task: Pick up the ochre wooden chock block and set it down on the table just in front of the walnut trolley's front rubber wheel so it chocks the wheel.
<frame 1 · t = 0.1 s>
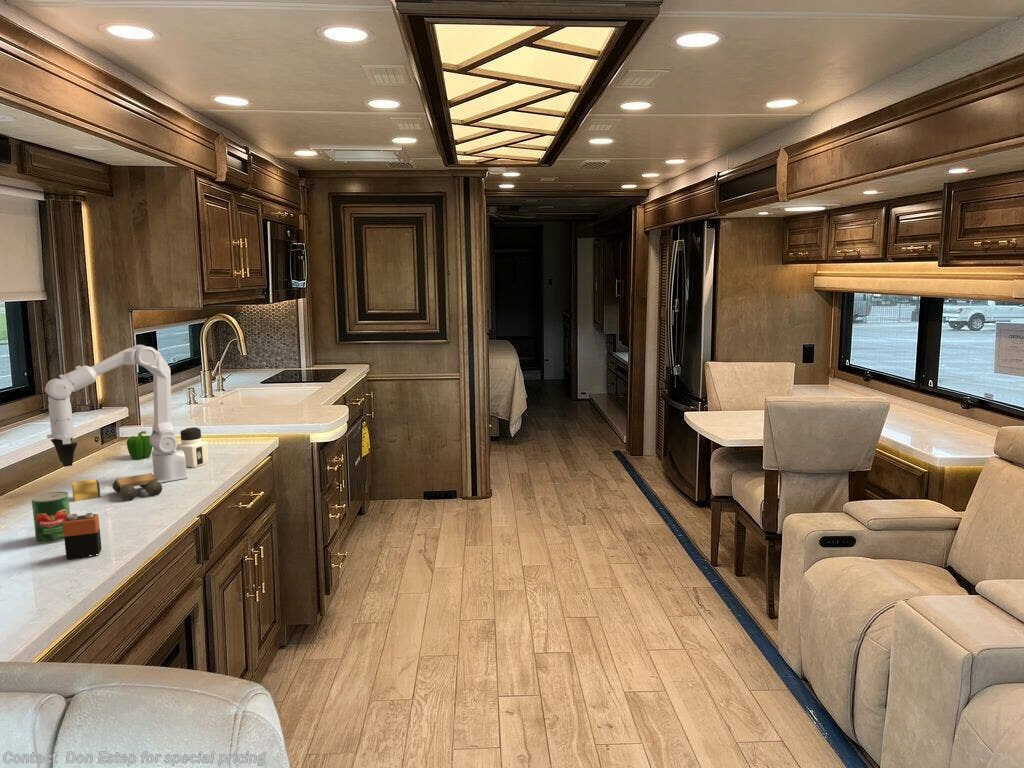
hand: (66, 463, 219), 10 cm above the counter, tool pointing down, fingers open, 7 cm apart
canned tomato: (54, 538, 185), on the counter
bell pepper: (140, 458, 267), on the counter
battery: (84, 555, 173), on the counter
container: (193, 465, 256), on the counter
trolley: (137, 493, 222), on the counter
chock: (85, 498, 219), on the counter
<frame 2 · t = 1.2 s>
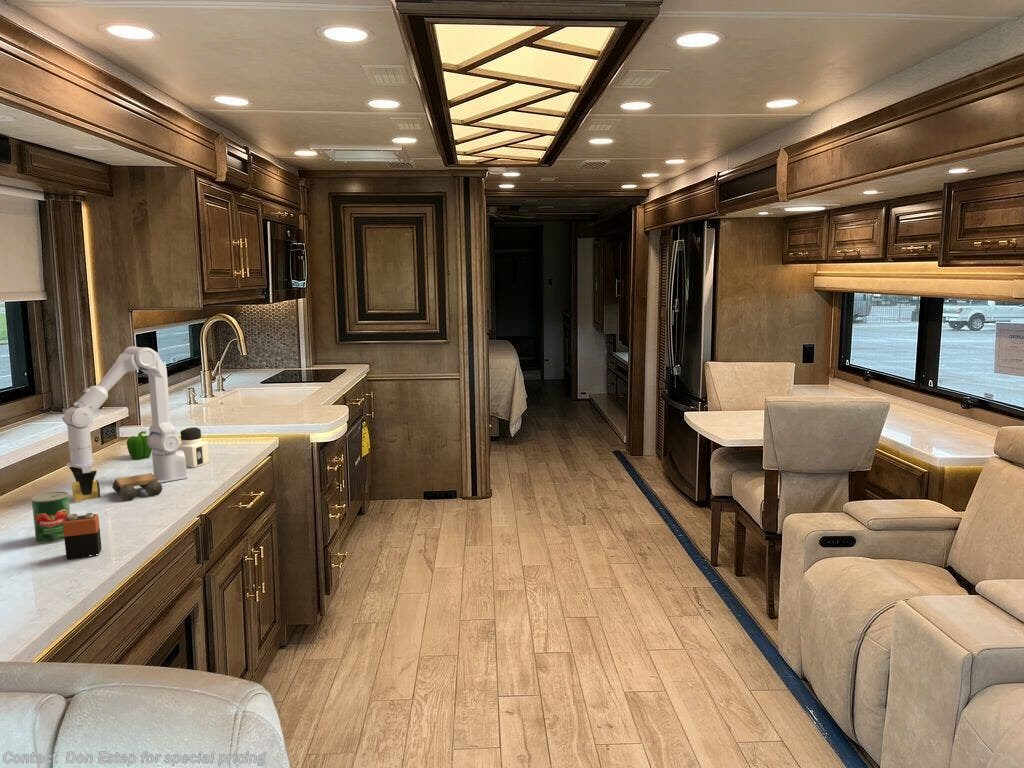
hand: (84, 491, 218), 2 cm above the counter, tool pointing down, fingers open, 7 cm apart
nothing on the counter moved.
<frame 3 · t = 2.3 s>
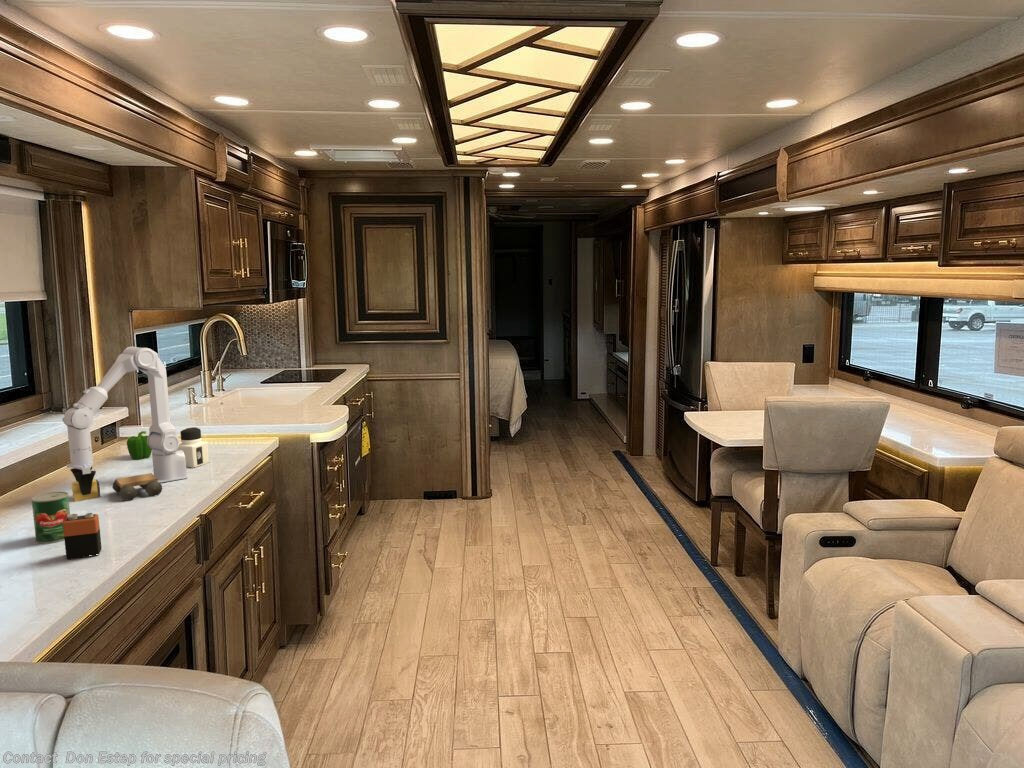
hand: (85, 492, 218), 2 cm above the counter, tool pointing down, fingers closed on chock, 4 cm apart
chock: (85, 497, 219), on the counter, touching gripper
everything else where it was.
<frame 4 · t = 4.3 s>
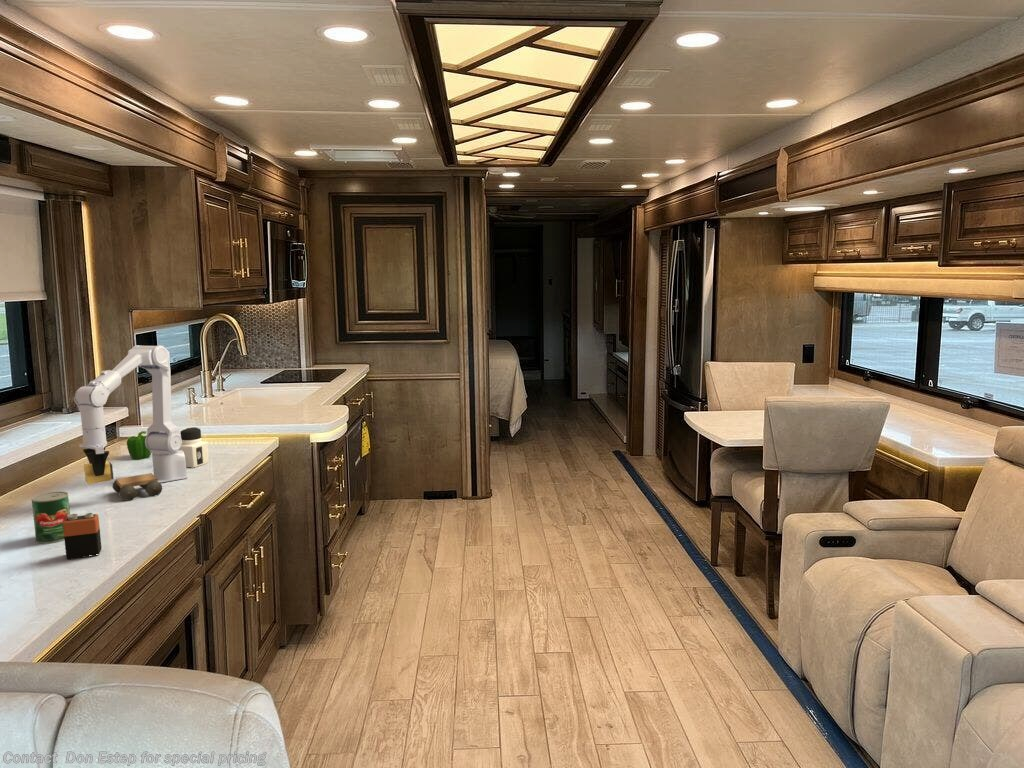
hand: (98, 473, 212), 9 cm above the counter, tool pointing down, fingers closed on chock, 4 cm apart
chock: (98, 480, 212), point 7 cm above the counter, touching gripper
everything else where it was.
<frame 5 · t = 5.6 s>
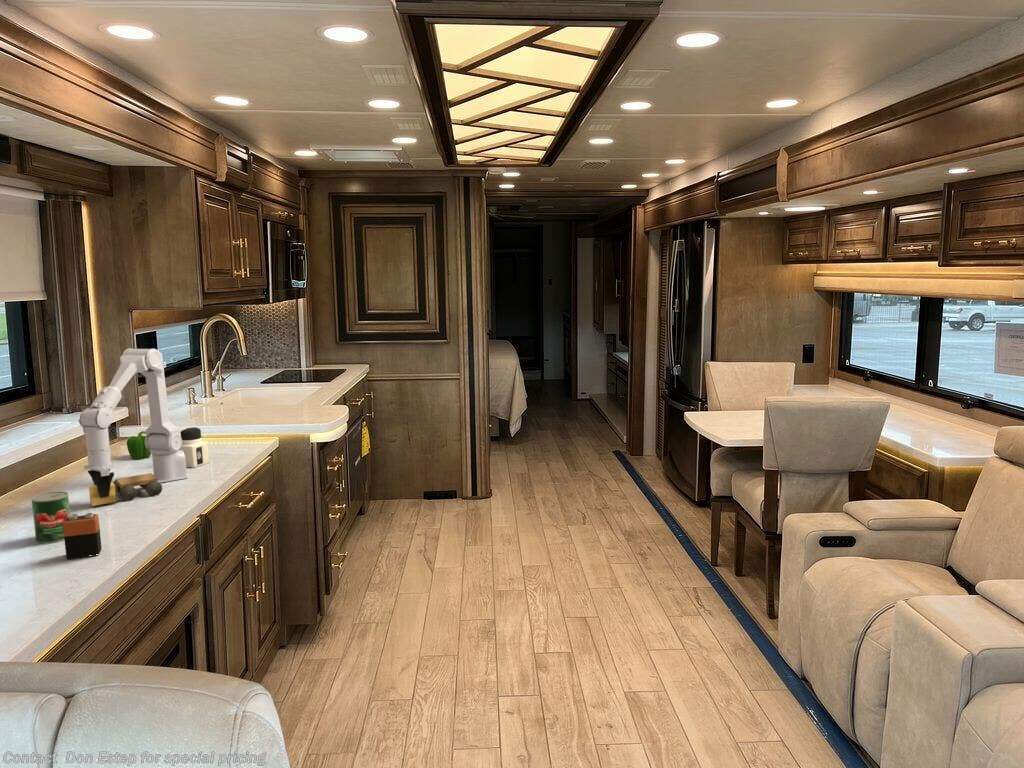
hand: (103, 495, 212), 3 cm above the counter, tool pointing down, fingers closed on chock, 4 cm apart
chock: (103, 502, 212), point 1 cm above the counter, touching gripper
everything else where it was.
when the fingers open (3 cm above the counter, at t = 6.5 s): chock stays where it is, on the counter.
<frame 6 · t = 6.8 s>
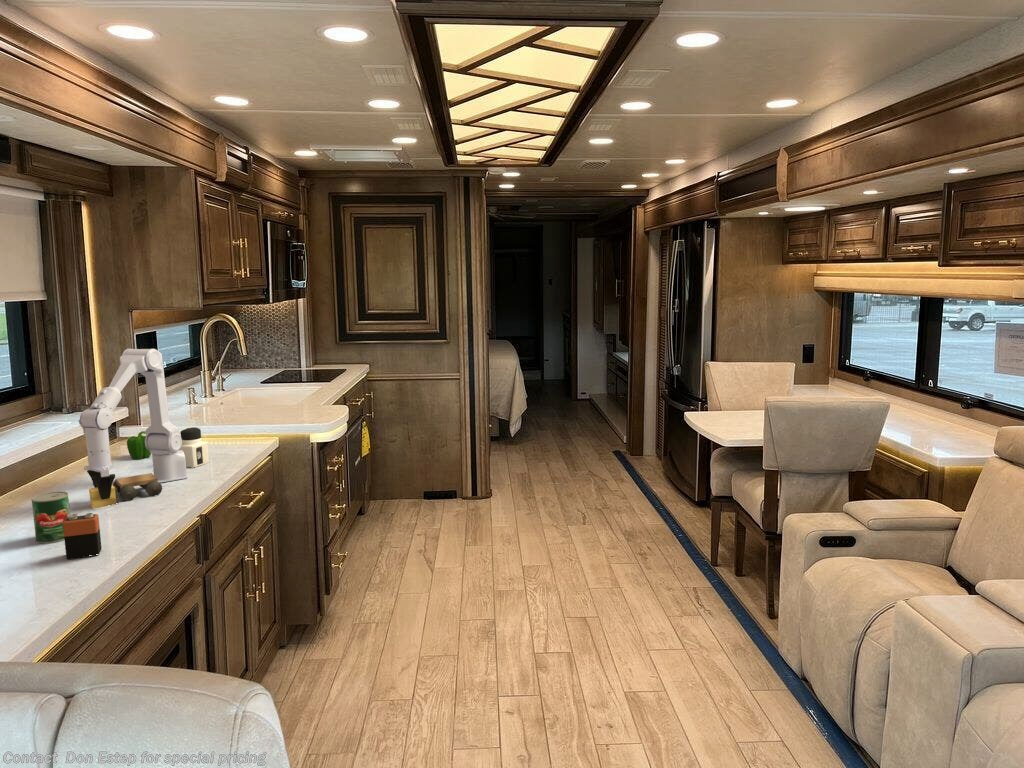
hand: (103, 495, 212), 3 cm above the counter, tool pointing down, fingers open, 7 cm apart
chock: (103, 505, 212), on the counter
everything else where it was.
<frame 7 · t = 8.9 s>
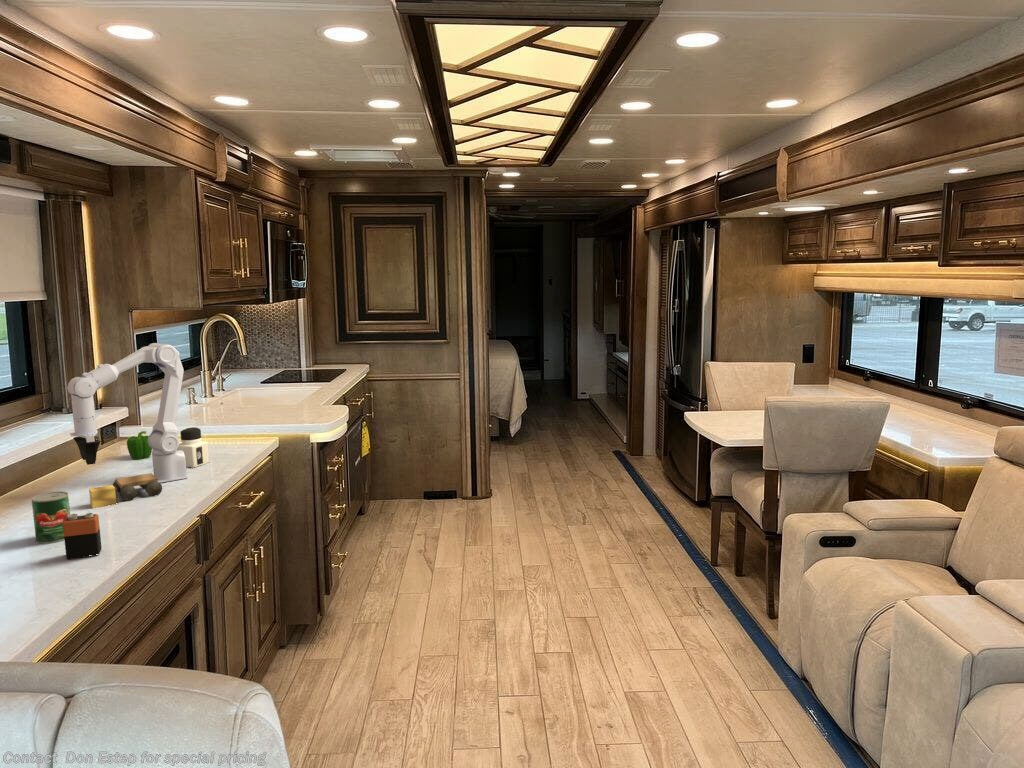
hand: (88, 461, 220), 10 cm above the counter, tool pointing down, fingers open, 7 cm apart
nothing on the counter moved.
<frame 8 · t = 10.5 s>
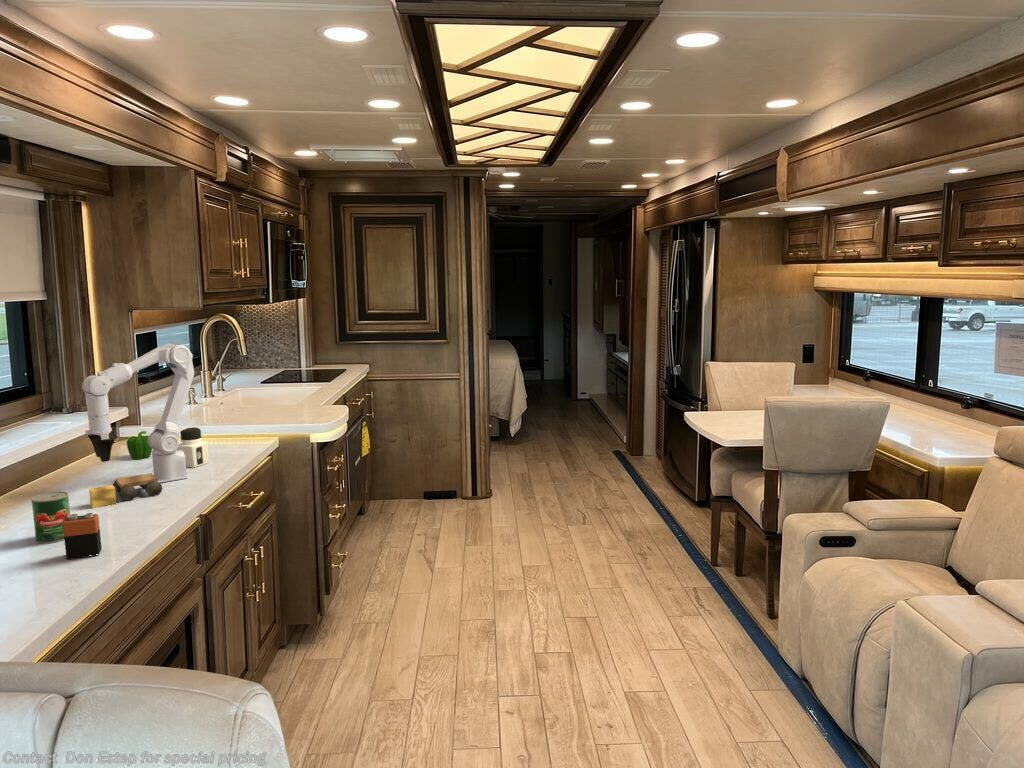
hand: (103, 458, 223), 10 cm above the counter, tool pointing down, fingers open, 7 cm apart
nothing on the counter moved.
at the end: chock 0.2 cm from the target spot on the counter beside the trolley, on the counter; chock tilted 0°; the gripper is holding nothing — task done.
